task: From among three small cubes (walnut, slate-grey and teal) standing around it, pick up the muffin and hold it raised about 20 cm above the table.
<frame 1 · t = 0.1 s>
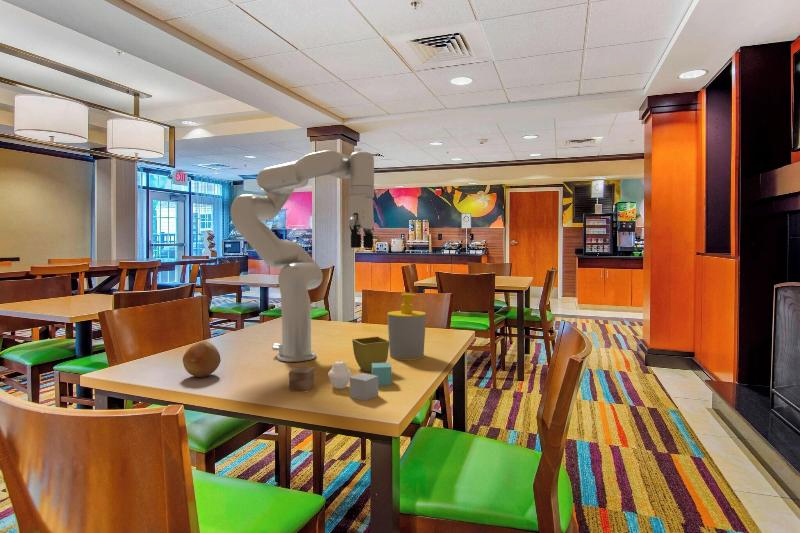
hand: (362, 247, 145), 37 cm above the table, tool pointing down, fingers open, 9 cm apart
soap bottle: (406, 356, 157), on the table
muffin: (339, 387, 122), on the table
flower pot: (370, 370, 140), on the table
grey cube: (364, 396, 114), on the table
walnut cube: (301, 388, 121), on the table
onion: (202, 376, 132), on the table
teal cube: (381, 383, 126), on the table
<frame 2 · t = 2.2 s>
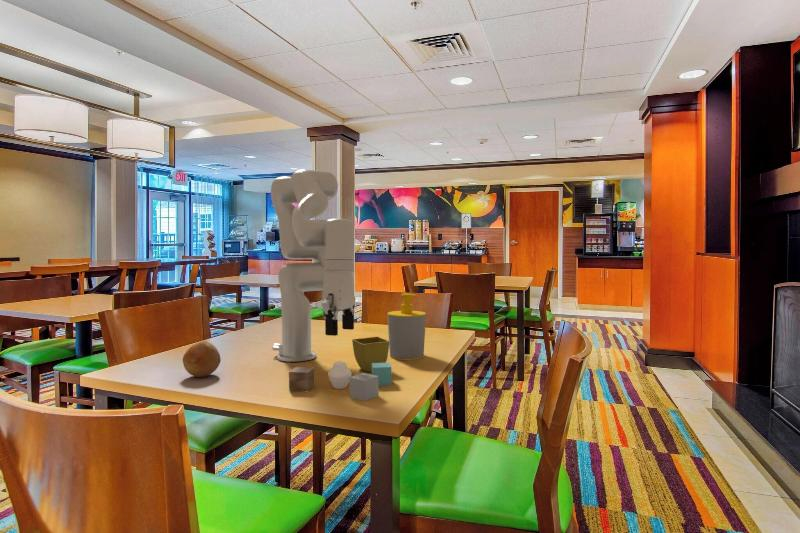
hand: (340, 332, 121), 15 cm above the table, tool pointing down, fingers open, 9 cm apart
nothing on the table moved.
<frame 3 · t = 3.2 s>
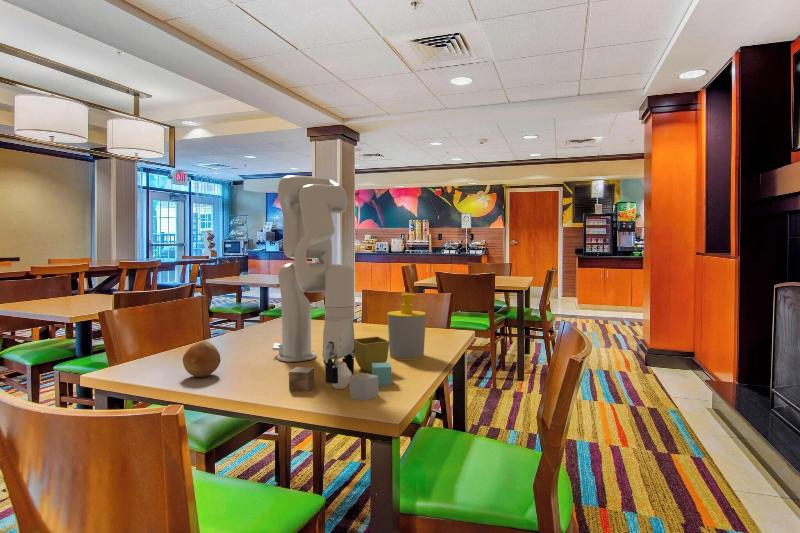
hand: (340, 377, 121), 3 cm above the table, tool pointing down, fingers open, 9 cm apart
nothing on the table moved.
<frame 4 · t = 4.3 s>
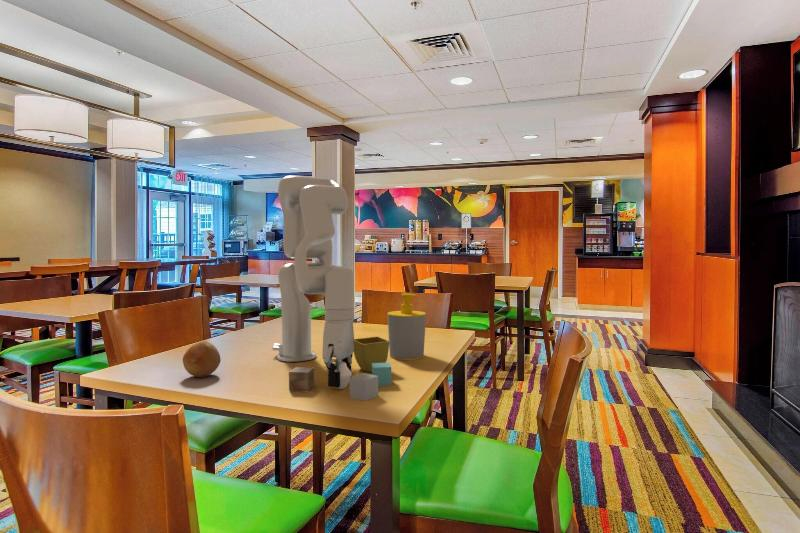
hand: (339, 382, 122), 1 cm above the table, tool pointing down, fingers closed on muffin, 6 cm apart
muffin: (340, 387, 122), on the table, touching gripper
everything else where it was.
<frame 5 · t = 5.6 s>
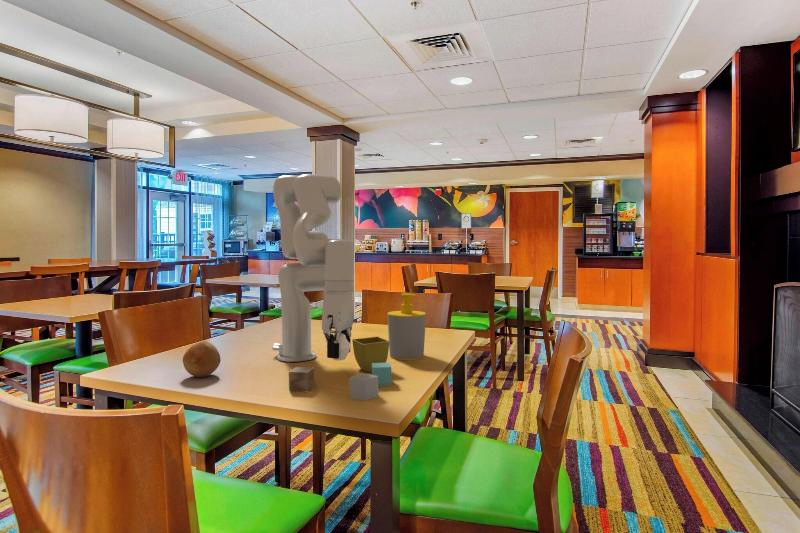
hand: (339, 354, 122), 9 cm above the table, tool pointing down, fingers closed on muffin, 6 cm apart
muffin: (339, 359, 122), point 7 cm above the table, touching gripper
everything else where it was.
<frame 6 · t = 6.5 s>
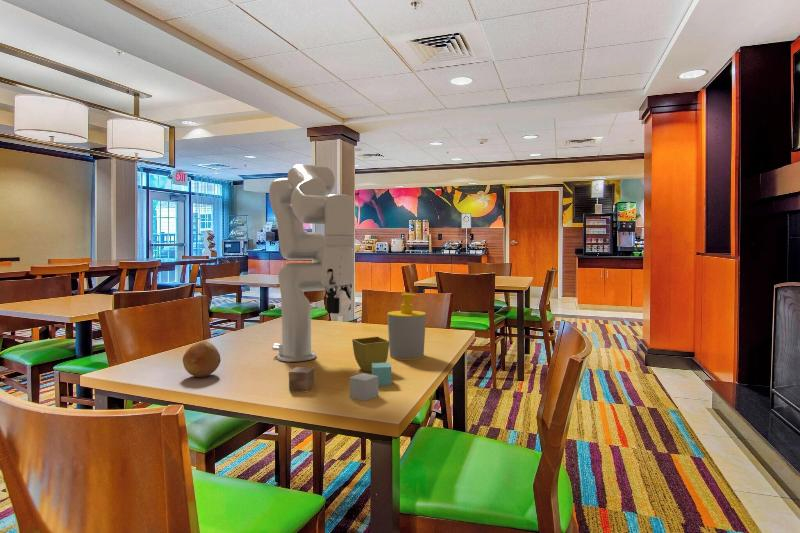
hand: (339, 310, 121), 20 cm above the table, tool pointing down, fingers closed on muffin, 6 cm apart
muffin: (339, 316, 121), point 19 cm above the table, touching gripper
everything else where it was.
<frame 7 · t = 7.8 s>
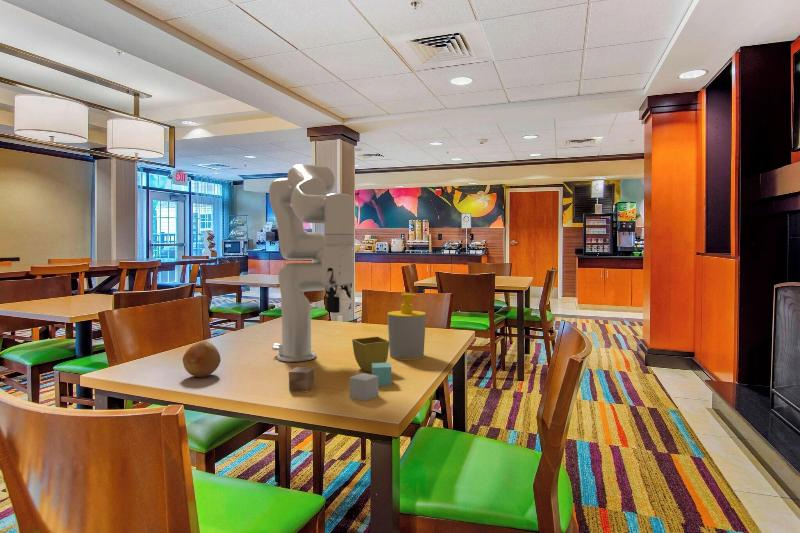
hand: (339, 309, 121), 20 cm above the table, tool pointing down, fingers closed on muffin, 6 cm apart
muffin: (339, 315, 121), point 19 cm above the table, touching gripper
everything else where it was.
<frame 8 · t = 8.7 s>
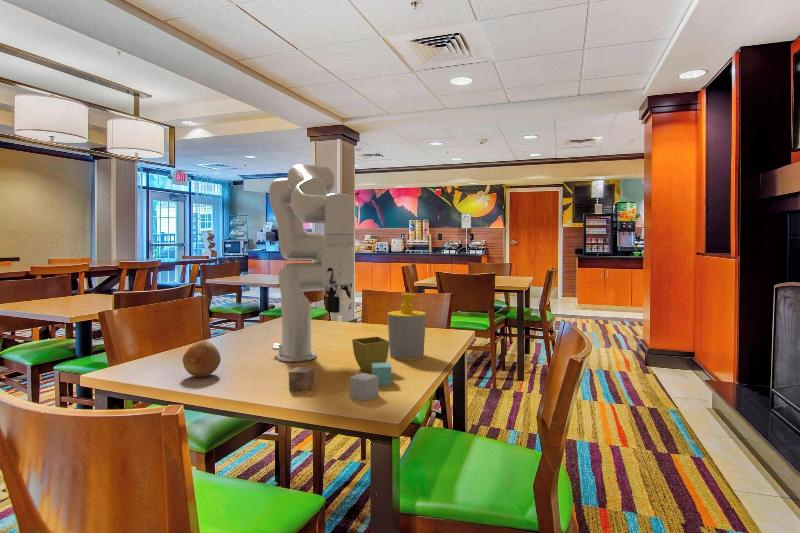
hand: (339, 309, 121), 20 cm above the table, tool pointing down, fingers closed on muffin, 6 cm apart
muffin: (339, 315, 121), point 19 cm above the table, touching gripper
everything else where it was.
at the end: the gripper is holding muffin; muffin point 18.9 cm above the table; grey cube moved 0.1 cm from its start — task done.
